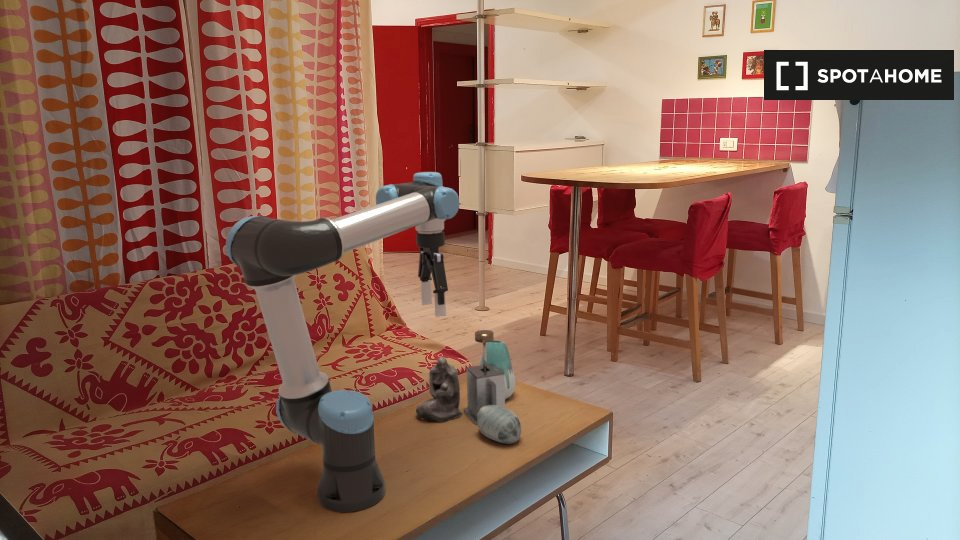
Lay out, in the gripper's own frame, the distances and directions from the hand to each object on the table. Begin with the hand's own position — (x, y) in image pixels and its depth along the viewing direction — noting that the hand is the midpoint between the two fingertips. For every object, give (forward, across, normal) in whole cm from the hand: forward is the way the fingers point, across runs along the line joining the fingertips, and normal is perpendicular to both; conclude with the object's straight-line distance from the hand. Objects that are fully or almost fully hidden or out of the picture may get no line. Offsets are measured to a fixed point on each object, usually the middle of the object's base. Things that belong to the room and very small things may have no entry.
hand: (433, 310), depth 195 cm
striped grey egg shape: (+33, -16, -12) cm, 38 cm away
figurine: (+33, +3, -2) cm, 33 cm away
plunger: (+21, -2, -14) cm, 25 cm away
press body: (+32, -2, -14) cm, 35 cm away
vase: (+33, +10, -21) cm, 40 cm away
